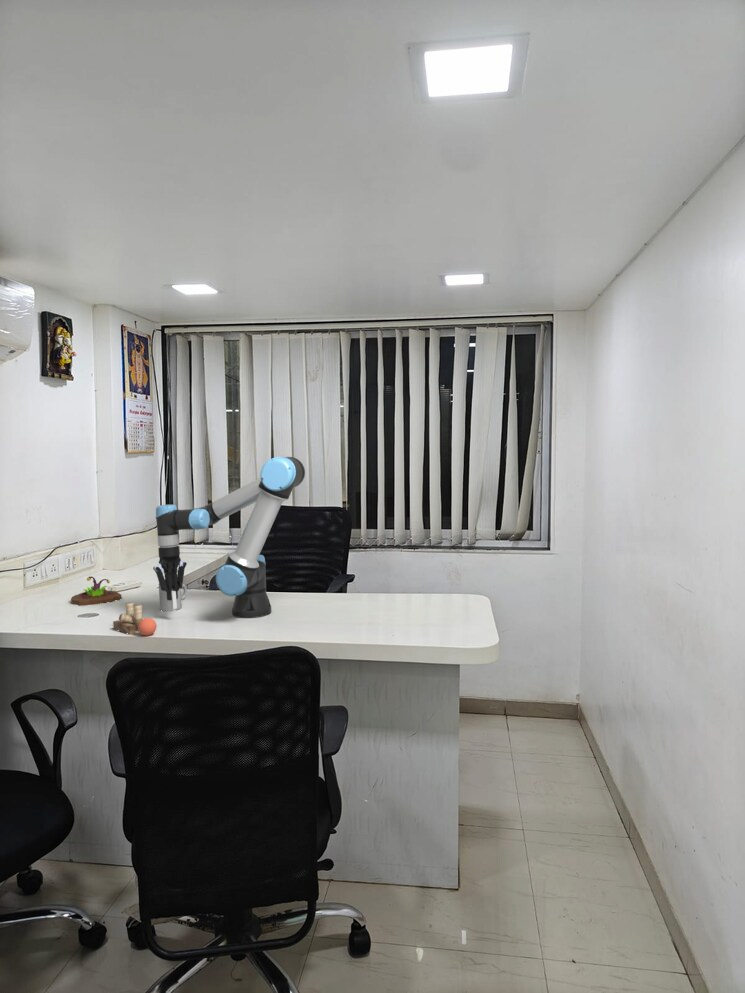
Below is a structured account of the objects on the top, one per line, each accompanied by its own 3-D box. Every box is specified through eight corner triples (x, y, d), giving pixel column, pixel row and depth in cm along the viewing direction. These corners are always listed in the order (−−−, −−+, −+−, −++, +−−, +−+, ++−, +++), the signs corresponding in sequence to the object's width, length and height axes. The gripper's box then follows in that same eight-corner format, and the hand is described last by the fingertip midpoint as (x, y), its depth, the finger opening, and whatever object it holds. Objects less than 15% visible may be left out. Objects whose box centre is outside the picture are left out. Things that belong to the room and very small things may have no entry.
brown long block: (135, 633, 229) (135, 625, 228) (130, 635, 227) (129, 626, 227) (118, 628, 237) (118, 620, 236) (113, 629, 235) (113, 621, 235)
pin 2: (144, 630, 233) (143, 605, 232) (137, 631, 231) (136, 606, 230) (140, 629, 235) (139, 604, 234) (133, 630, 233) (132, 605, 232)
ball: (156, 618, 231) (158, 618, 225) (154, 635, 229) (156, 636, 224) (138, 617, 228) (140, 617, 223) (136, 635, 227) (138, 635, 222)
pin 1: (135, 627, 237) (134, 603, 236) (129, 629, 235) (127, 604, 234) (132, 626, 239) (131, 602, 238) (125, 628, 237) (124, 603, 236)
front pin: (146, 620, 237) (124, 613, 231) (143, 627, 236) (121, 620, 230) (142, 620, 239) (120, 613, 233) (140, 627, 238) (117, 620, 232)
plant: (66, 600, 289) (65, 575, 288) (112, 594, 301) (111, 570, 300) (77, 608, 273) (75, 582, 272) (125, 601, 285) (123, 575, 284)
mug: (168, 612, 260) (166, 585, 259) (155, 609, 265) (154, 583, 264) (193, 606, 269) (191, 580, 268) (180, 604, 274) (179, 578, 274)
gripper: (178, 543, 252) (182, 603, 253) (147, 547, 242) (152, 610, 243) (189, 544, 247) (193, 605, 248) (158, 549, 237) (162, 613, 238)
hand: (173, 608), depth 246 cm, fingers closed
